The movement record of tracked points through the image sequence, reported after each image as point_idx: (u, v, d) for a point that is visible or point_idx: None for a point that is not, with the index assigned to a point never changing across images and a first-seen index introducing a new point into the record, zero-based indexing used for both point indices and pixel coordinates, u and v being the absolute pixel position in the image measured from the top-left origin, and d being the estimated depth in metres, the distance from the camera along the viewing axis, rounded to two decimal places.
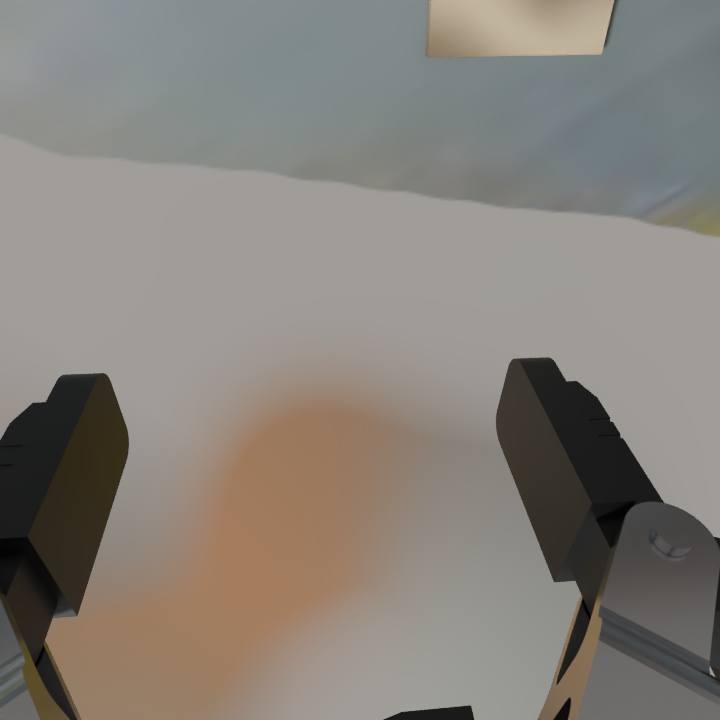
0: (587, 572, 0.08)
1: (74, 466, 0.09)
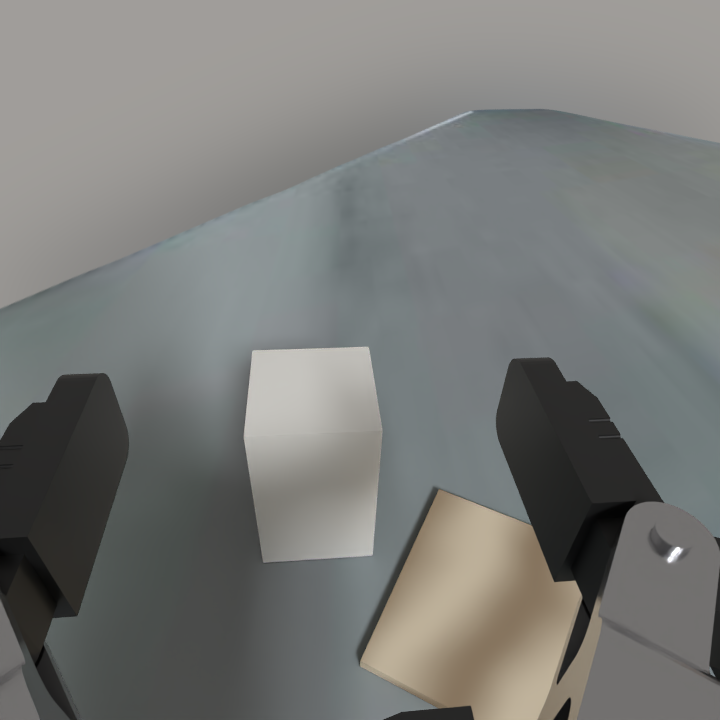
0: (587, 572, 0.08)
1: (75, 466, 0.09)
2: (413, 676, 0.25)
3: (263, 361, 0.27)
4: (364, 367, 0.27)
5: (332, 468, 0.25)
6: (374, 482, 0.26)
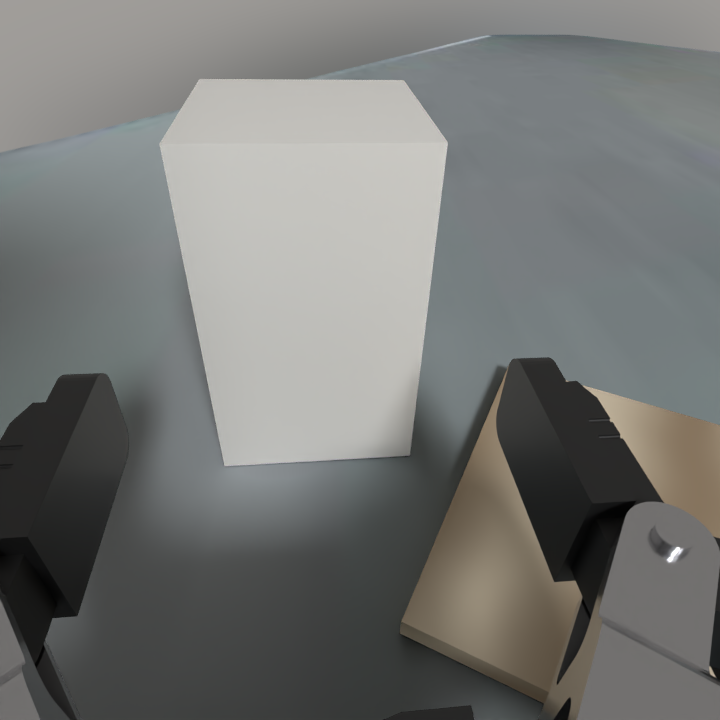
0: (587, 572, 0.08)
1: (74, 466, 0.09)
2: (508, 650, 0.12)
3: (216, 86, 0.15)
4: (399, 93, 0.15)
5: (344, 246, 0.13)
6: (422, 287, 0.14)
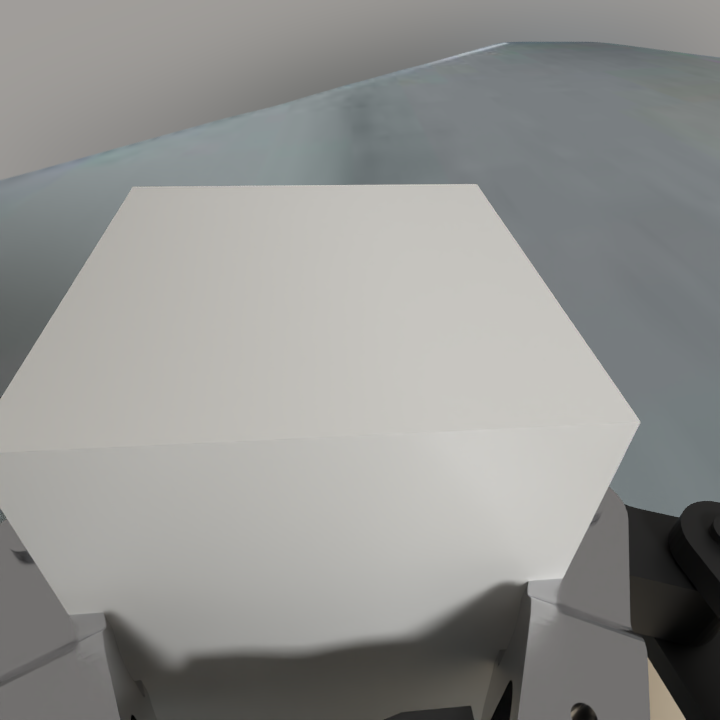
0: None
1: None
2: None
3: (158, 208, 0.09)
4: (480, 224, 0.08)
5: (391, 573, 0.06)
6: None
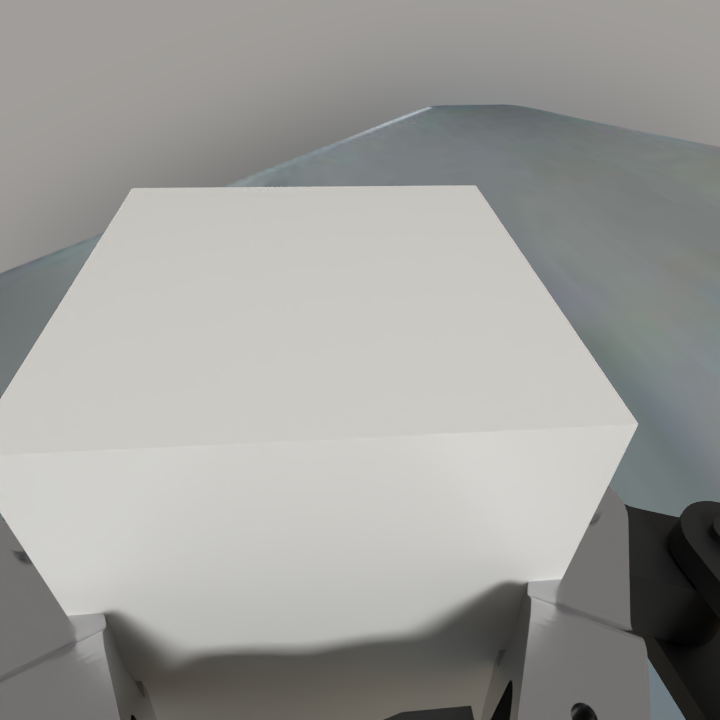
0: None
1: None
2: None
3: (157, 209, 0.09)
4: (479, 225, 0.08)
5: (390, 574, 0.06)
6: None
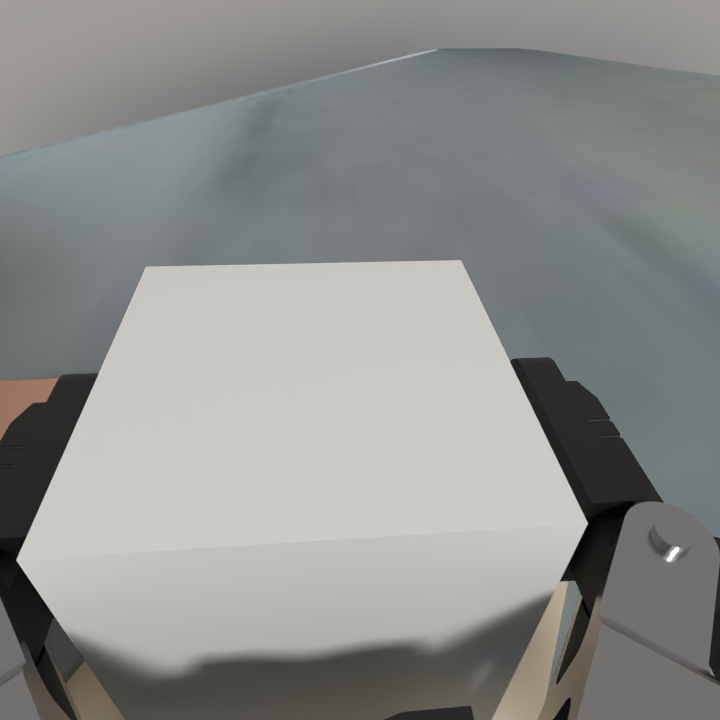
0: (588, 572, 0.08)
1: None
2: None
3: (169, 292, 0.09)
4: (462, 307, 0.09)
5: (378, 638, 0.07)
6: (507, 663, 0.08)
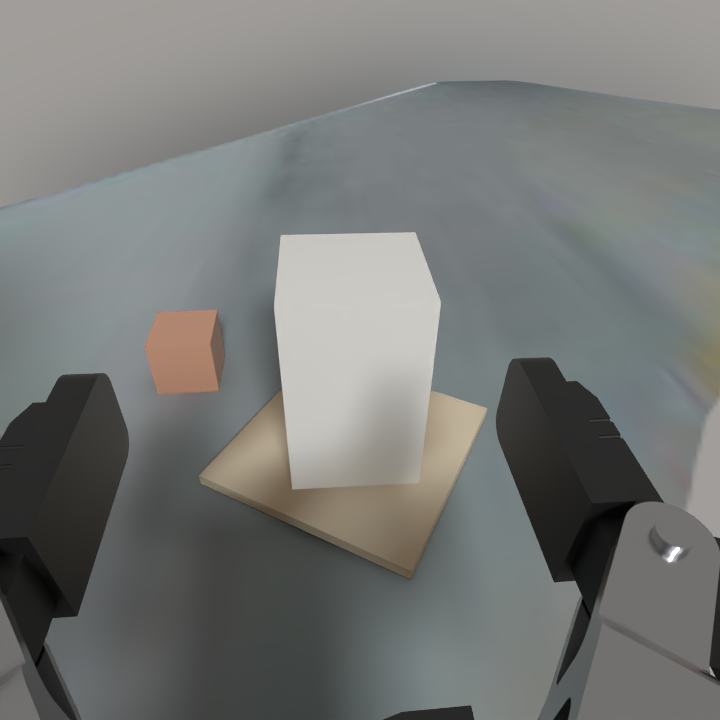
0: (588, 572, 0.08)
1: (75, 466, 0.09)
2: (246, 486, 0.25)
3: (294, 244, 0.23)
4: (412, 249, 0.23)
5: (378, 356, 0.21)
6: (427, 378, 0.22)
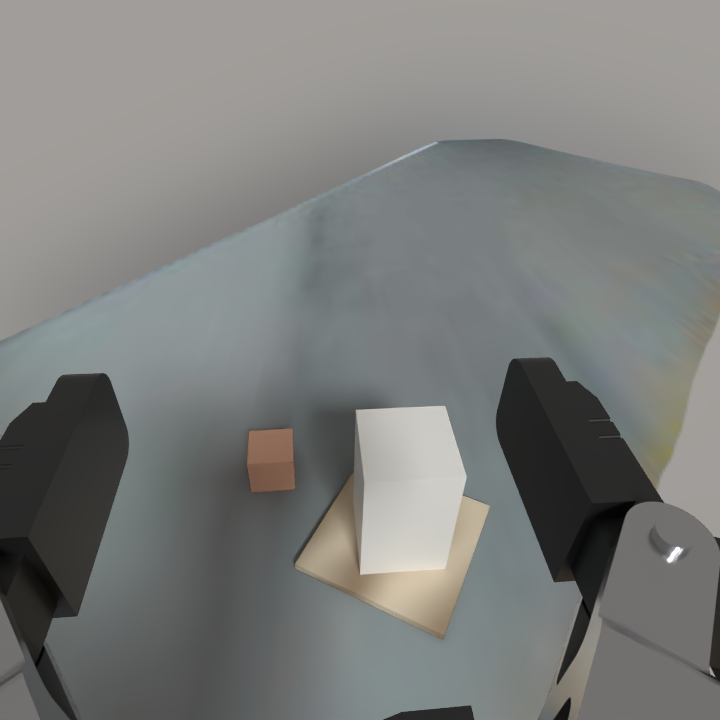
0: (587, 572, 0.08)
1: (74, 466, 0.09)
2: (329, 572, 0.37)
3: (366, 419, 0.35)
4: (444, 423, 0.35)
5: (425, 504, 0.33)
6: (455, 513, 0.34)
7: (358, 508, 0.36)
